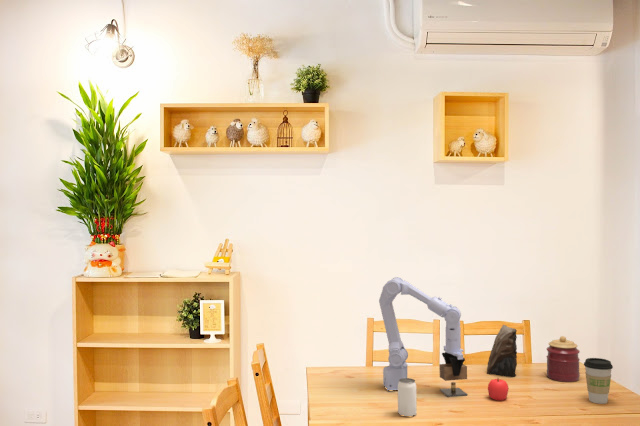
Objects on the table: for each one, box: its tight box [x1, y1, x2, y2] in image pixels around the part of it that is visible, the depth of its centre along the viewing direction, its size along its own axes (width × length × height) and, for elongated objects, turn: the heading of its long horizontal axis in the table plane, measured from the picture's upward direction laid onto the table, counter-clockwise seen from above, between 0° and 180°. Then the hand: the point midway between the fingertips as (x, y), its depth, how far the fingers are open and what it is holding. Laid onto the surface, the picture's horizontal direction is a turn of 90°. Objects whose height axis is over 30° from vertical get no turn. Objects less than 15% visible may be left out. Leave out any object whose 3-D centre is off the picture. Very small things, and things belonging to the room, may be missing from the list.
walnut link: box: [438, 363, 468, 382], centre depth 231 cm, size 9×6×5 cm, turn 101°
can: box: [397, 377, 417, 417], centre depth 208 cm, size 6×6×12 cm
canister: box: [546, 335, 581, 383], centre depth 250 cm, size 13×13×18 cm
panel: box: [439, 381, 468, 398], centre depth 231 cm, size 8×8×4 cm
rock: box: [486, 324, 518, 378], centre depth 257 cm, size 13×13×20 cm
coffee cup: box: [583, 357, 614, 405], centre depth 220 cm, size 10×10×15 cm
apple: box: [487, 377, 510, 402], centre depth 224 cm, size 8×8×8 cm
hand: (453, 373), depth 231 cm, fingers closed on walnut link, 6 cm apart
